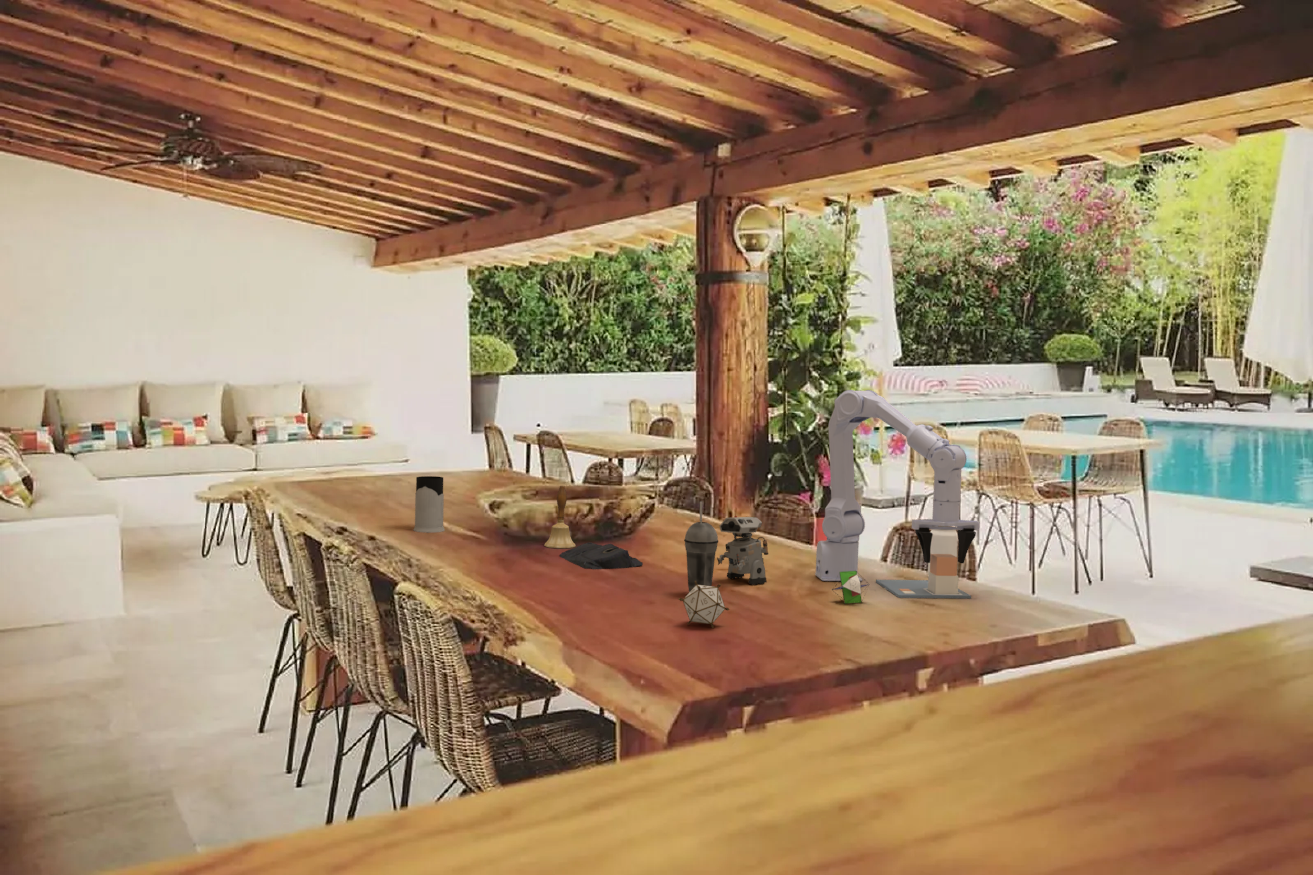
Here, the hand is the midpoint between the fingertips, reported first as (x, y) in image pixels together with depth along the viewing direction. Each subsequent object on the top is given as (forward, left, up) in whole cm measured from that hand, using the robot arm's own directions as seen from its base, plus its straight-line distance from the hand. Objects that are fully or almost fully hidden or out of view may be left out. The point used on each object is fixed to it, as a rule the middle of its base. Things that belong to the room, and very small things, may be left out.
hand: (943, 562), depth 257 cm
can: (+7, +21, -7) cm, 23 cm away
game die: (-57, -32, -7) cm, 66 cm away
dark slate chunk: (-73, +38, -8) cm, 83 cm away
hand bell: (-83, +61, -7) cm, 103 cm away
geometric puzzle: (-23, -9, -7) cm, 26 cm away
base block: (0, 0, -6) cm, 6 cm away
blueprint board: (-3, +5, -7) cm, 9 cm away
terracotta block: (0, 0, -2) cm, 3 cm away
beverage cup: (-54, -3, -7) cm, 55 cm away
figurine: (-43, +12, -7) cm, 45 cm away
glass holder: (-119, +89, -7) cm, 149 cm away
